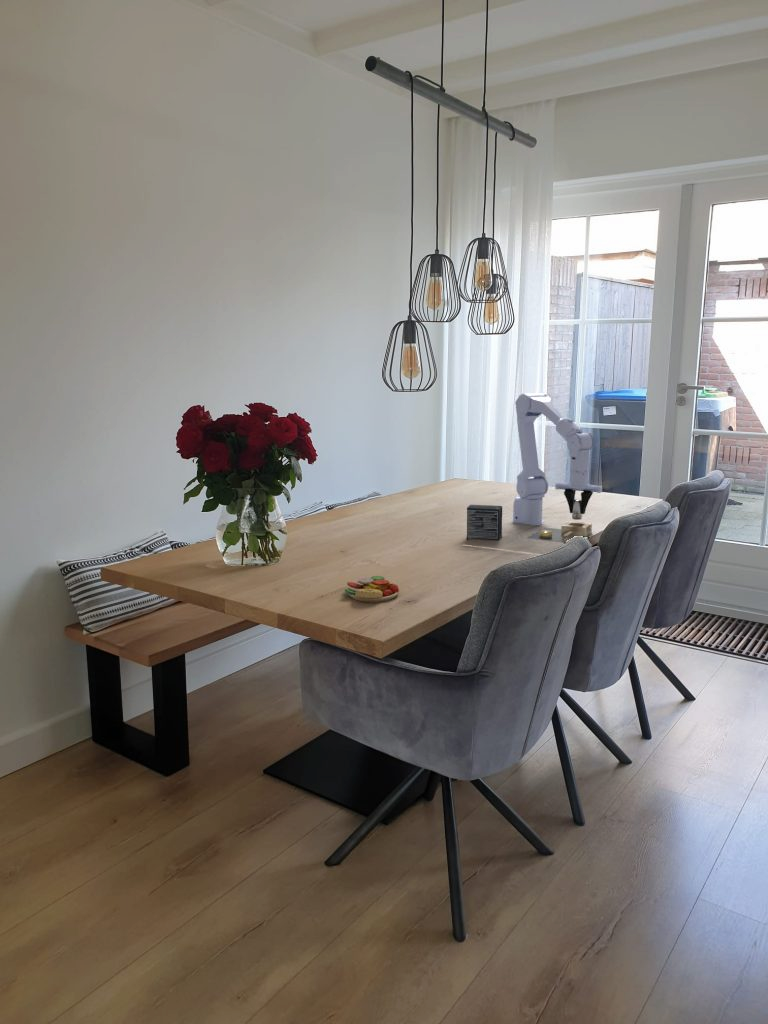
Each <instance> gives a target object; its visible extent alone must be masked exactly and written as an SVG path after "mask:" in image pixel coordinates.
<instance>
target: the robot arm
mask: <svg viewBox="0 0 768 1024" xmlns="http://www.w3.org/2000/svg"><path fill="white" fill-rule="evenodd" d="M514 403H515V412H516V424H517V430H518V438H519V439H518V440H519V449H520V456H521V457H520V458H521V464H522V465H521V466H522V471H521V472H519V474H518V475H517V476H516V479H517V480H516V488H515V489H516V493H517V494H518V496H516V497H515V498H514V501H513V507H512V508H513V509H512V513H513V514H512V523H515V524H526V525H532V526H534V525H535V526H540V525H542V524H543V523H545V522H546V520H545V519H543V503H544V502H543V499H544V498H545V495H546V494H547V493H548V491H549V483H548V481H547V477H546V473H545V472H544V471H543V470H542V469H541V468H540V465H539V458H538V451H537V449H538V448H537V441H536V431H535V425H534V424H535V421H536V420H537V419H538V418H539V417H540V416H541V415H543V416H544V417H545V418H546V419H548V420H549V421H550V422H551V423H553V424H554V425H555V431H556V433H557V434H559V436H561V437H562V438H563V439H564V440H565V441H566V446H567V448H568V456H569V459H570V460H569V461H570V463H569V465H570V466H569V482H556V483H555V487H554V490H564V491H563V495H564V497H565V499H566V502H567V505H568V509H569V514H572V508H573V500H574V499H576V493H577V491H578V492H580V497H581V499H580V500H581V501H582V505H581V514H582V515H584V514H585V513H586V510H587V506H588V503H589V501H590V499H591V497H592V495H593V494H594V493H597V494H601V493H602V492H603V485H594V484H589V470H590V469H589V468H590V464H589V463H590V451H591V450H592V449H593V447H594V443H595V440H594V437H593V435H592V433H591V432H589V431H584V430H583V429H582V428H581V427H579V426H578V425H577V424H576V423H575V421H574V419H573V418H571V417H570V418H569V417H564V416H563V415H562V414H561V412H560V411H559V410H558V409H557V408H556V407H555V405H554V404H553V403H552V398H551V397H550V396H549V395H548V394H547V393H545V392H537V393H536V392H535V393H521V394H520V395H518V397H517V399H516V400H515V402H514Z"/></svg>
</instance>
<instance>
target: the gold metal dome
mask: <svg viewBox="0 0 768 1024" xmlns="http://www.w3.org/2000/svg"><path fill="white" fill-rule="evenodd" d="M538 531H539V530H538ZM539 537H540V538H543V539H550V538H552V531H548V530H542V531H539Z"/></svg>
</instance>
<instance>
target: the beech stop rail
mask: <svg viewBox="0 0 768 1024" xmlns="http://www.w3.org/2000/svg"><path fill="white" fill-rule="evenodd" d="M571 538H573V532H571V531H569V532H568V533H566V534H565V535H563V542H562V543H566V541H567V540H569V539H571Z"/></svg>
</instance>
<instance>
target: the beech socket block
mask: <svg viewBox="0 0 768 1024" xmlns="http://www.w3.org/2000/svg"><path fill="white" fill-rule="evenodd" d="M560 529H561V535H565V534H566V533H568V532H569V531H571V532H573V536H586V537H587V536H589V535H590V534H592V529H593V524H592V523H590V522H579V521H570V520H568V521H566V522H565V523H564V524H562V525H561V528H560Z"/></svg>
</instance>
